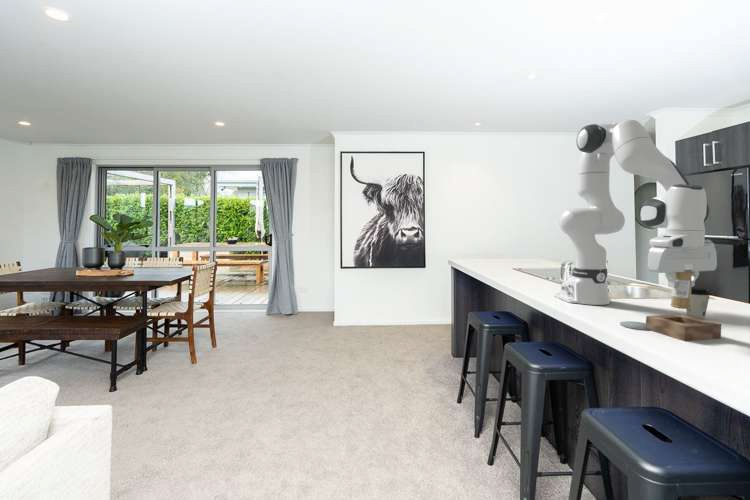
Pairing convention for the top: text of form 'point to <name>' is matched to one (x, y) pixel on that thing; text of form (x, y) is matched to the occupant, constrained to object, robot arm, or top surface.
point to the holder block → (683, 327)
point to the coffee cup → (698, 303)
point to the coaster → (634, 325)
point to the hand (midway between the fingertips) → (681, 286)
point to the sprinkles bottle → (682, 288)
